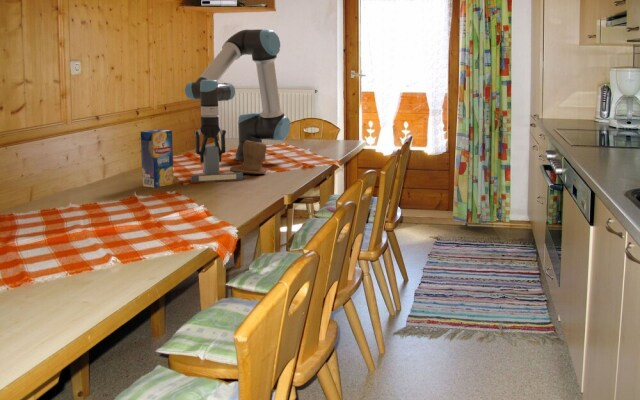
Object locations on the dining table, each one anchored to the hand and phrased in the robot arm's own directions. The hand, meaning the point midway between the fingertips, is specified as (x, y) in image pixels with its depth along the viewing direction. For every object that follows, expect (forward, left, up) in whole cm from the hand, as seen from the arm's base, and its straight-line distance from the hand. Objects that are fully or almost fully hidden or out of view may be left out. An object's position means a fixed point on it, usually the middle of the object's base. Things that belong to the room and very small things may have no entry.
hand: (211, 169), depth 337 cm
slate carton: (0, 0, -2) cm, 2 cm away
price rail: (+12, 0, -3) cm, 12 cm away
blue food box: (+13, -25, -3) cm, 29 cm away
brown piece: (-2, +18, -3) cm, 19 cm away
